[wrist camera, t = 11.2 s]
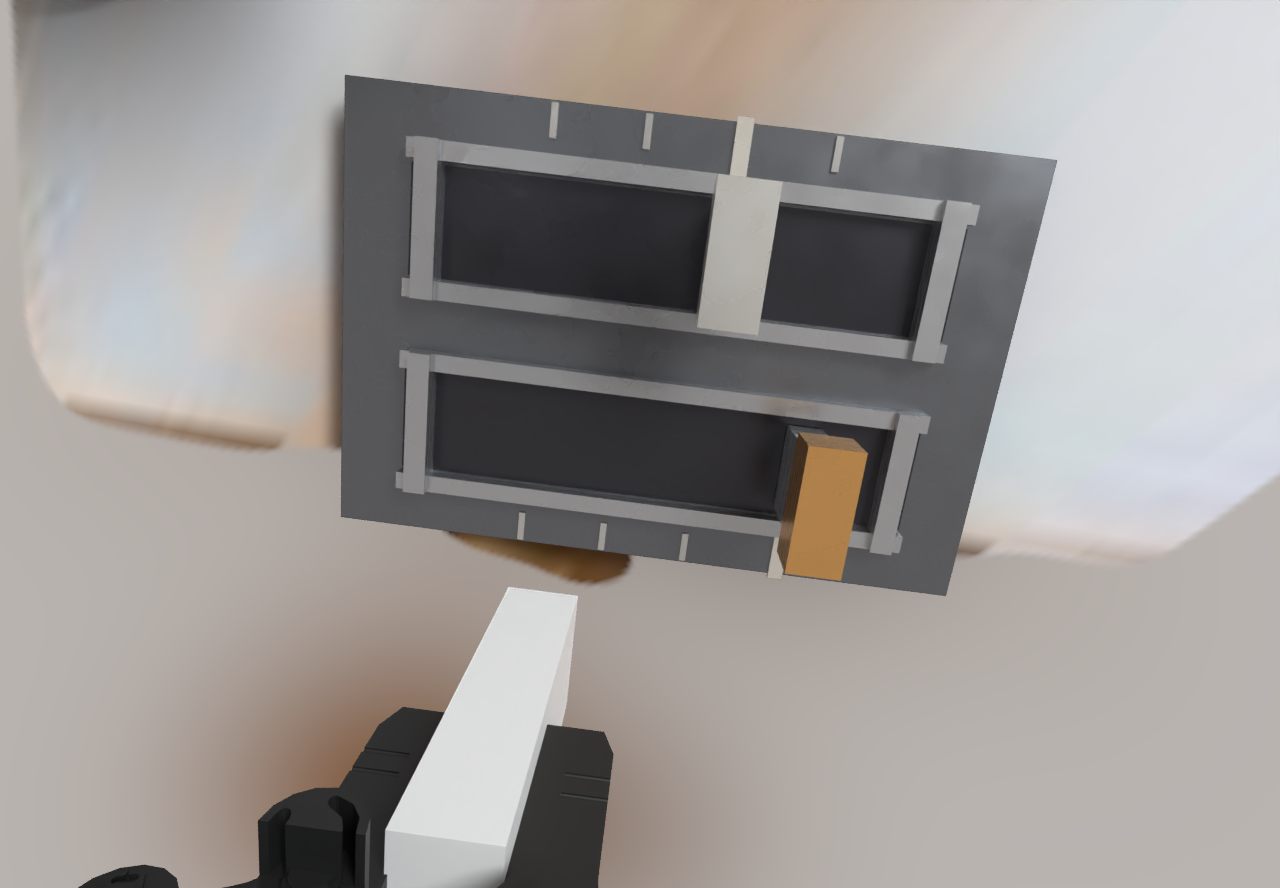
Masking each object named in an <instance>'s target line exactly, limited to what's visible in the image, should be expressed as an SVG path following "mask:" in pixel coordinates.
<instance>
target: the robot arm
mask: <svg viewBox="0 0 1280 888" xmlns="http://www.w3.org/2000/svg"><path fill="white" fill-rule="evenodd" d="M577 601H578V596H574V595H567V594H559V593H551V592H544V591H536V590H529V589H521V588H513V587H508V589H507V591H506V593H505V595H504V597H503V599H502V602H501V603H500V605H499V607H498V609H497V611H496V613H495V615H494V617H493V619H492V621H491V623H490V625H489V627H488V629H487V631H486V633H485V635H484V637H483V639H482V641H481V642H480V644H479V646H478V649H477V651H476V652H475V654H474V656H473V658H472V660H471V662H470V664H469V666H468V668H467V670H466V672H465V674H464V676H463V678H462V680H461V682H460V684H459V686H458V688H457V690H456V692H455V694H454V696H453V698H452V700H451V702H450V704H449V706H448V708H447V710H446V711H445V713H443V712H436V711H429V710H421V709H414V708H407V707H403V708H401V709H400V710H398V711H397V712H396V713H394V714H393V715H392V716H390V717H389V718H387V719H386V720H385V721H384V722H382V723H381V724H379V726H378V727H377V729H376V730H375V732H374V734H373V735H372V737H371V738H370V740H369V741H368V743H367V744H366V746H365V749H364V752H361V754H360V755H359V757H358V759H357V760H356V762H355V763H354V765H353V768H352V771H349V773H348V774H347V776H346V777H345V779H344V781H343V782H342V784H341V785H340V787H339V788H315V789H311V790H307V791H303V792H300V793H296V794H293V795H291V796H290V797H288V798H286V799H284V800H283V801H281V802H279V803H277V804H275V805H273V807H271V808H270V809H269V811H267V812H266V813H265V814H264V815H263V816H262V817H261V818H260V819H259V820H258V838H259V872H260V875H259V877H258V878H257V879H254V880H252V881H249V882H247V883H243V884H238V885H234V886H230V887H224V888H598V875H599V867H600V859H601V851H602V843H603V834H604V827H605V818H606V810H607V802H608V794H609V786H610V778H611V769H612V761H613V752H612V750H611V747H610V745H609V743H608V740H607V738H606V735H605V733H604V732H599V731H593V730H585V729H578V728H570V727H562V722H563V717H564V713H565V709H566V704H567V694H568V686H569V676H570V667H571V657H572V647H573V638H574V629H575V619H576V610H577ZM79 888H179V887H178V882H177V878H176V877H174V876H173V875H172V874H171V873H169V872H168V871H167V870H166V869H164V868H159V867H154V866H148V865H140V866H132V867H124V868H119V869H116V870H114V871H111V872H108V873H106V874H103V875H100V876H98V877H95V878H93V879H91V880H90V881H88V882H86V883H85V884H83V885H82V886H80V887H79Z"/></svg>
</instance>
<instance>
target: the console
mask: <svg viewBox="0 0 1280 888" xmlns="http://www.w3.org/2000/svg"><path fill="white" fill-rule="evenodd" d="M754 121H755V118H752V117H744V116H738V119H737V122H735V121H726V120H718V119H710V118H701V117H693V116H685V115H676V114H668V113H660V112H651V111H643V110H634V109H626V108H618V107H609V106H601V105H593V104H584V103H576V102H568V101H559V100H551V99H543V98H534V97H526V96H517V95H509V94H501V93H492V92H484V91H476V90H467V89H459V88H451V87H442V86H434V85H426V84H417V83H409V82H400V81H392V80H384V79H375V78H367V77H359V76H350V75H345V117H344V231H343V345H342V459H341V464H342V465H341V517H346V518H354V519H361V520H369V521H377V522H384V523H392V524H399V525H407V526H415V527H422V528H430V529H437V530H445V531H453V532H460V533H468V534H476V535H483V536H491V537H499V538H506V539H514V540H521V541H529V542H537V543H544V544H552V545H560V546H567V547H575V548H583V549H590V550H598V551H605V552H613V553H621V554H628V555H636V556H644V557H652V558H659V559H667V560H675V561H682V562H689V563H697V564H705V565H712V566H720V567H728V568H735V569H743V570H751V571H758V572H766V573H767V578H772V579H780V580H781V579H782V575H789V576H796V577H805V578H812V579H819V580H828V581H835V582H842V583H850V584H858V585H865V586H874V587H881V588H888V589H896V590H903V591H911V592H919V593H927V594H934V595H943V596H946V593H947V589H948V585H949V581H950V577H951V573H952V570H953V566H954V562H955V558H956V554H957V550H958V546H959V542H960V539H961V535H962V531H963V527H964V523H965V519H966V515H967V511H968V507H969V503H970V499H971V496H972V492H973V488H974V484H975V480H976V476H977V472H978V468H979V464H980V460H981V456H982V453H983V449H984V445H985V441H986V437H987V433H988V429H989V425H990V421H991V417H992V413H993V410H994V406H995V402H996V398H997V394H998V390H999V386H1000V382H1001V378H1002V374H1003V370H1004V367H1005V363H1006V359H1007V355H1008V351H1009V347H1010V343H1011V339H1012V335H1013V331H1014V328H1015V324H1016V320H1017V316H1018V312H1019V308H1020V304H1021V300H1022V296H1023V292H1024V288H1025V285H1026V281H1027V277H1028V273H1029V269H1030V265H1031V261H1032V257H1033V253H1034V249H1035V245H1036V242H1037V238H1038V234H1039V230H1040V226H1041V222H1042V218H1043V214H1044V210H1045V206H1046V202H1047V199H1048V195H1049V191H1050V187H1051V183H1052V179H1053V175H1054V171H1055V167H1056V163H1057V160H1052V159H1044V158H1036V157H1027V156H1019V155H1011V154H1002V153H994V152H986V151H977V150H969V149H960V148H952V147H944V146H935V145H927V144H919V143H910V142H902V141H894V140H885V139H877V138H869V137H860V136H852V135H843V134H835V133H827V132H818V131H810V130H802V129H793V128H785V127H777V126H768V125H760V124H754ZM718 174H723V175H732V176H740V177H748V178H757V179H765V180H773V181H781V182H783V183H782V190H781V196H780V202H779V208H778V214H777V220H776V227H775V233H774V239H773V245H772V251H771V257H770V264H769V270H768V276H767V282H766V288H765V295H764V301H763V307H762V313H761V319H760V325H759V332H758V335H753V334H745V333H737V332H729V331H721V330H713V329H705V328H697V326H696V323H695V320H696V313H697V306H698V299H699V291H700V284H701V277H702V270H703V262H704V255H705V248H706V241H707V233H708V226H709V219H710V212H711V204H712V197H713V190H714V183H715V180H716V178H717V175H718ZM788 425H792V426H800V427H808V428H816V429H823V431H824V432H825V433H826V434H827V435H828V436H835V437H842V438H850V439H854V440H855V441H856V442H857V443H858V444H859V445H860V446H861V447H862V448H863V449H864V450H865V451H866V452H867V453H868V455H867V460H866V465H865V469H864V474H863V479H862V483H861V488H860V493H859V498H858V502H857V507H856V512H855V516H854V521H853V526H852V531H851V535H850V540H849V545H848V550H847V554H846V559H845V564H844V568H843V573H842V578H841V581H838V580H831V579H823V578H816V577H808V576H800V575H793V574H785V573H784V570H783V567H782V564H781V562H780V559H779V556H778V553H777V547H778V541H779V536H780V530H781V524H780V522H779V519H778V517H777V514H776V512H775V510H774V507H773V505H774V499H775V494H776V488H777V483H778V477H779V471H780V466H781V460H782V455H783V449H784V443H785V438H786V432H787V427H788Z"/></svg>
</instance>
